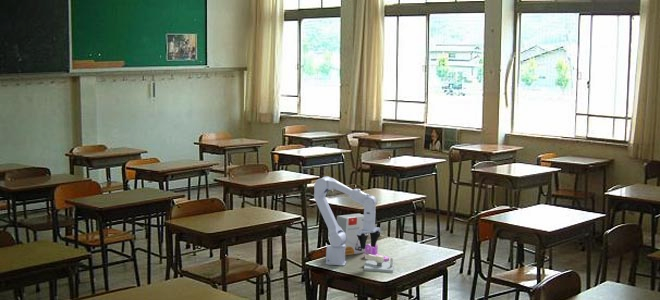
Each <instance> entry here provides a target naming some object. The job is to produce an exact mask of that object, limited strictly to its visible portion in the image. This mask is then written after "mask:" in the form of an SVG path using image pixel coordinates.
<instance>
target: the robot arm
mask: <svg viewBox="0 0 660 300" xmlns="http://www.w3.org/2000/svg"><path fill="white" fill-rule="evenodd" d="M313 189H314V191H313V192H314V193H313V198H314V201H315V203H316V205H317V208H318V210H319V212H320V214H321V216H322V218H323V221H324V222H325V224H326V227H327V229H328V237H329V243H330V245H329V244H328V245H327V246H326V249H325V250H326V251H325V252H326V253H325V265H328V266H329V265H330V266H342V267H343V266H346V263H347V260H346V255H345V246H346V245H345V242H346V240H347V235H346V233H345V232H344V231H343V230H342V228H341V227H340V226H339V225H338V223H337V218H336V217H335V215H334V212H333V211H332V209H331V207H330V205H329V202H328V199H327V198H326V196H327V194H328V191H330V190H336V191H338V192H341V193H343V194H345V195H348V196H349V198H350V200H352V201H354V202H355V203H358V204H360V205H363V215H364V222H363V229H361V230H359V231H357V237H358V239H359V241H360V245H361V249H365V246H366V245H367V238H368V235H366V236H365V234H369V235H370V244H371V246H372V247H375V245H376V244H377V241H378V239H379V238H380V236H381V229H382V228H381V227H379V226H378V227H377V226H376V213H377V212H376V207H377V204H378V199H377V197H376V196H375V195H372V194H369V193H365V192H363V191H362V190H361V188H354V189H352V188H351V187H348V185H345V184H344V183H342V182H340V181H338V180H337V179H335V178H333V177H330V176H328V175H324V176H322V178H321V177H320V178H318V179H316V181H315V183H314V184H313Z"/></svg>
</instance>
